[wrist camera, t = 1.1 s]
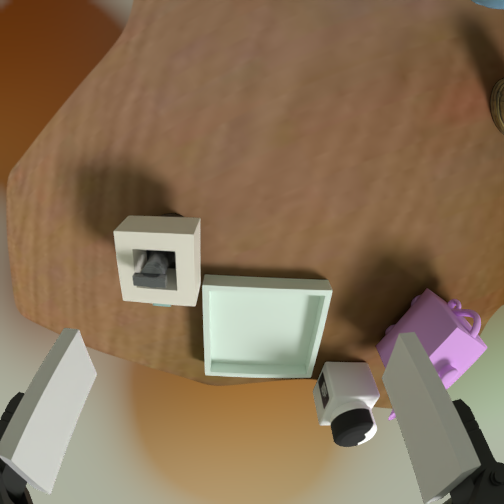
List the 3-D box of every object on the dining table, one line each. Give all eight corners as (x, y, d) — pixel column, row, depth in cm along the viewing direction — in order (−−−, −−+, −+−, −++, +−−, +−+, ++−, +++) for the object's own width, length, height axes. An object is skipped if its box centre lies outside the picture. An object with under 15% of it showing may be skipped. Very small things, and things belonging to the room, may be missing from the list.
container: (311, 391, 51) (323, 453, 39) (324, 360, 48) (341, 426, 36) (352, 391, 52) (369, 449, 40) (367, 361, 48) (391, 422, 37)
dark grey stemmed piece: (147, 212, 37) (115, 251, 27) (196, 214, 37) (178, 254, 27) (150, 257, 40) (123, 305, 30) (196, 259, 40) (181, 311, 30)
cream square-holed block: (128, 215, 33) (113, 231, 29) (200, 217, 33) (193, 234, 29) (136, 288, 37) (124, 309, 33) (200, 292, 37) (195, 315, 33)
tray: (204, 274, 41) (202, 284, 38) (328, 279, 41) (332, 290, 39) (206, 363, 48) (205, 374, 45) (308, 365, 48) (310, 377, 46)
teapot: (432, 268, 41) (477, 319, 30) (465, 295, 43) (505, 342, 32) (349, 362, 48) (369, 423, 37) (388, 377, 51) (410, 431, 39)
